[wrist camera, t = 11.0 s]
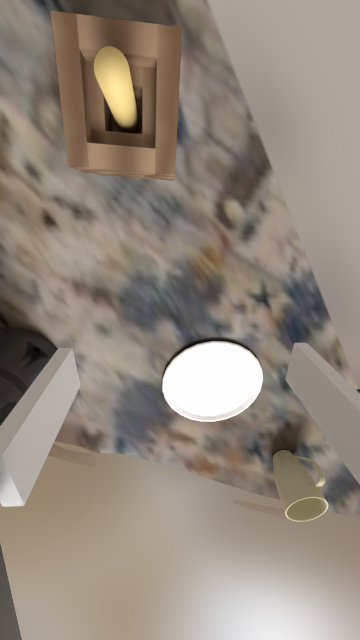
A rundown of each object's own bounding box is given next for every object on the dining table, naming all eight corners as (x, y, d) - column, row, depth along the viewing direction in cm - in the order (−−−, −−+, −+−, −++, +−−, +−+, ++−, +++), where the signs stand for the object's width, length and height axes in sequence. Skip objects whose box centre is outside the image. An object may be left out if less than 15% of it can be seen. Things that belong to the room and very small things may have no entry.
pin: (117, 135, 31) (96, 92, 20) (115, 107, 30) (91, 45, 19) (140, 136, 31) (130, 93, 20) (138, 108, 30) (128, 47, 19)
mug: (304, 462, 63) (332, 516, 52) (266, 470, 63) (286, 525, 53) (302, 434, 58) (333, 487, 47) (261, 443, 59) (283, 497, 48)
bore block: (86, 173, 33) (68, 165, 27) (76, 54, 28) (50, 10, 22) (173, 180, 34) (174, 174, 28) (178, 66, 29) (182, 27, 23)
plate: (146, 357, 47) (146, 361, 46) (250, 324, 45) (252, 327, 44) (181, 427, 56) (181, 432, 55) (269, 402, 54) (271, 406, 53)
